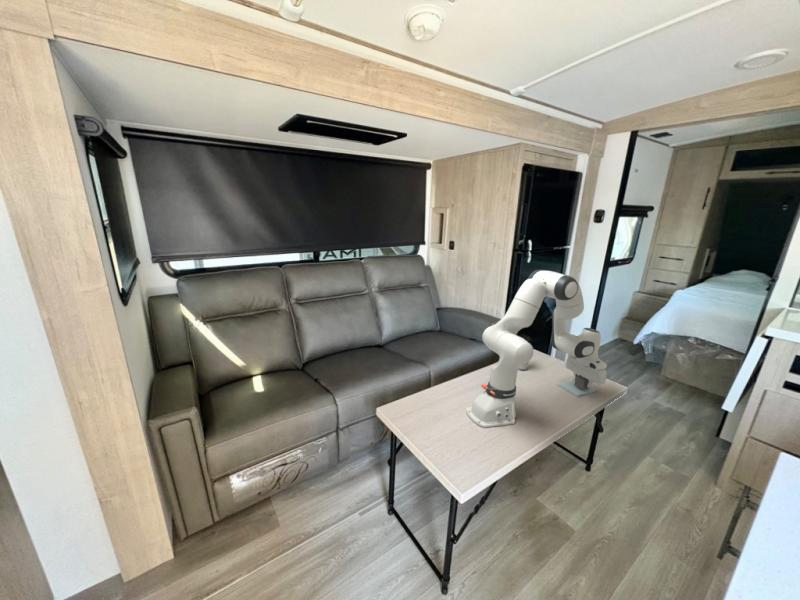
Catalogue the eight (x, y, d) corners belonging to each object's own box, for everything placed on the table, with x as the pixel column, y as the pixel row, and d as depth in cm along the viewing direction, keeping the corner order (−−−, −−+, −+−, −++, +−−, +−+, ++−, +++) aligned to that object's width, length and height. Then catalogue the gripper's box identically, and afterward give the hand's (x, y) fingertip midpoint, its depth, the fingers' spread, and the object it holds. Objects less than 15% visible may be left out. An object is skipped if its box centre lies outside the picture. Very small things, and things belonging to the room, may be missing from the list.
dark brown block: (582, 389, 159) (584, 379, 157) (574, 385, 163) (575, 375, 162) (589, 387, 160) (591, 378, 159) (581, 383, 165) (582, 373, 163)
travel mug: (525, 365, 188) (529, 334, 183) (528, 371, 181) (532, 339, 176) (514, 365, 188) (518, 334, 183) (517, 370, 182) (521, 338, 177)
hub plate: (576, 396, 156) (578, 387, 155) (557, 385, 167) (558, 376, 165) (596, 391, 161) (598, 382, 160) (576, 380, 172) (577, 372, 170)
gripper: (564, 351, 166) (561, 375, 170) (601, 369, 148) (596, 394, 151) (573, 350, 168) (569, 373, 172) (610, 366, 150) (605, 392, 153)
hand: (582, 383), depth 161 cm, fingers closed on dark brown block, 5 cm apart
